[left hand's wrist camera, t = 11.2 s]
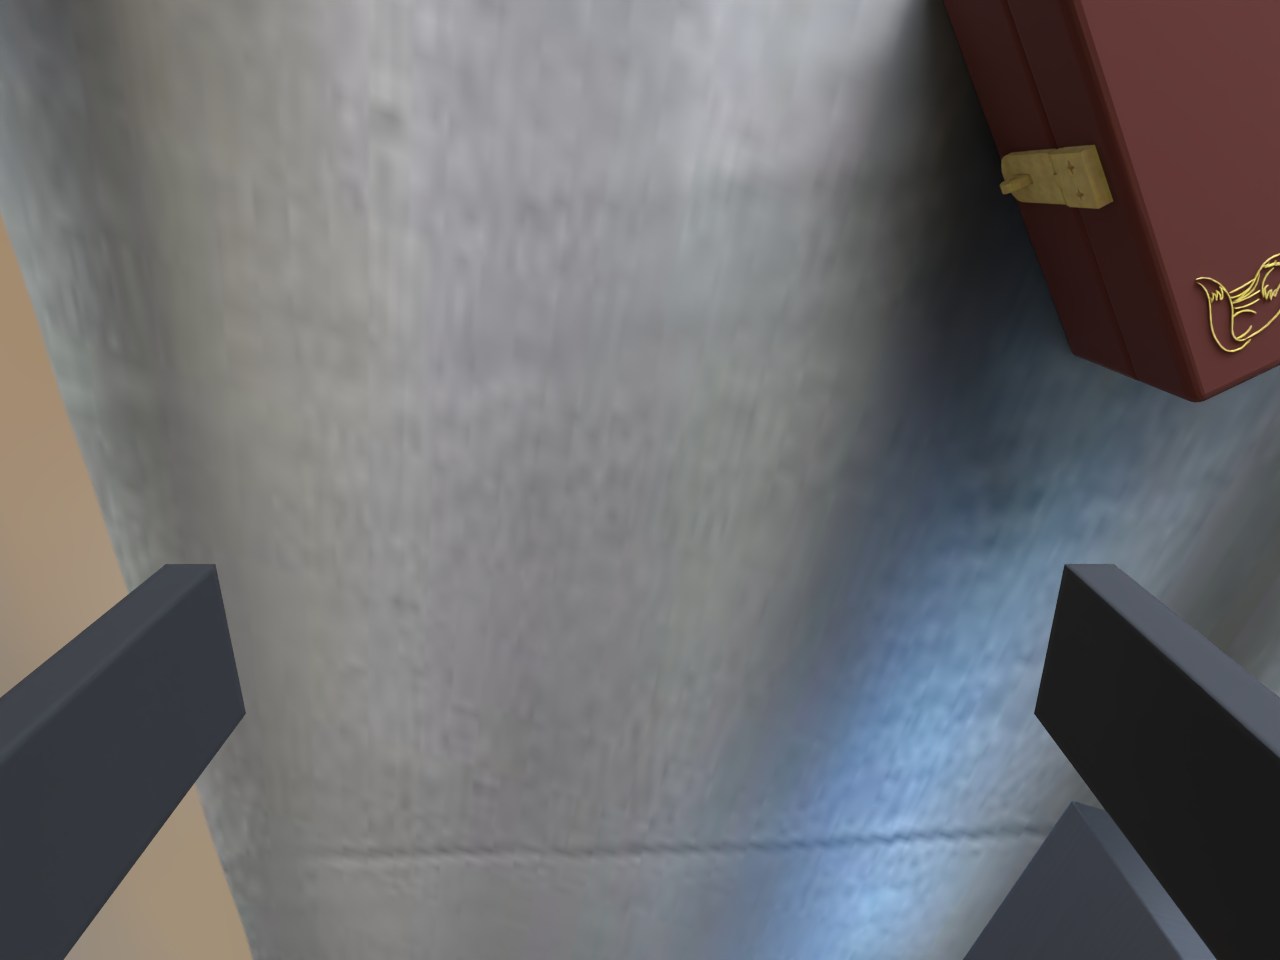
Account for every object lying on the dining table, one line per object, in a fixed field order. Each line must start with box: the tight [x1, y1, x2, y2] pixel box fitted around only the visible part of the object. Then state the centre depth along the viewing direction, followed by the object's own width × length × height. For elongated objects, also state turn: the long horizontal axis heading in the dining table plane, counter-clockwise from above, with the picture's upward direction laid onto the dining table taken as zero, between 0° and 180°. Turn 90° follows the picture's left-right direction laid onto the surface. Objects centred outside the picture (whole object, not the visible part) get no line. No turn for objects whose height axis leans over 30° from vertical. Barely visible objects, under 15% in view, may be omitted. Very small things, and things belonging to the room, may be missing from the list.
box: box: [943, 0, 1280, 402], centre depth 33 cm, size 21×16×10 cm
